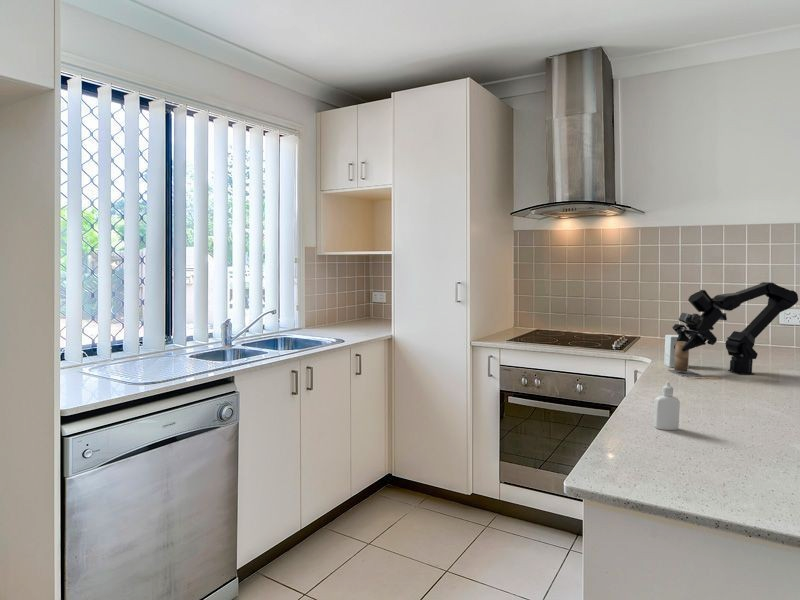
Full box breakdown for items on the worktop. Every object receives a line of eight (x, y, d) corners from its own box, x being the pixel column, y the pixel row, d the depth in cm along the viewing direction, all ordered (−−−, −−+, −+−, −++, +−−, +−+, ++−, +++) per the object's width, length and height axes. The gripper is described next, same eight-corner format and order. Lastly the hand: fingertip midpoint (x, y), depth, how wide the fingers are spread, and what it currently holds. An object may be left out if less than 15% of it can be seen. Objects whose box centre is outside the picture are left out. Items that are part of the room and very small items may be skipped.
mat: (689, 371, 204) (689, 370, 204) (703, 376, 194) (703, 375, 194) (668, 371, 204) (668, 369, 204) (682, 376, 194) (682, 375, 194)
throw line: (718, 378, 192) (718, 377, 192) (720, 379, 191) (720, 378, 191) (685, 378, 192) (685, 377, 192) (687, 378, 191) (687, 377, 191)
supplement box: (688, 368, 210) (690, 337, 209) (668, 367, 211) (670, 336, 210) (682, 365, 217) (684, 334, 216) (663, 364, 219) (664, 334, 218)
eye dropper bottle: (654, 424, 136) (656, 378, 135) (678, 427, 133) (681, 381, 132) (652, 428, 132) (655, 382, 132) (677, 432, 130) (680, 385, 129)
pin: (687, 370, 200) (688, 341, 199) (687, 372, 196) (688, 343, 195) (674, 368, 202) (675, 340, 201) (674, 370, 198) (675, 342, 198)
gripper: (677, 303, 207) (650, 331, 207) (710, 307, 189) (681, 338, 188) (695, 323, 209) (668, 350, 208) (729, 329, 190) (700, 359, 190)
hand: (678, 349), depth 199 cm, fingers closed on pin, 4 cm apart
